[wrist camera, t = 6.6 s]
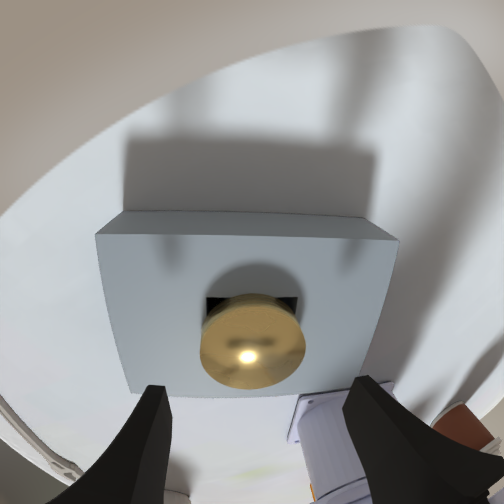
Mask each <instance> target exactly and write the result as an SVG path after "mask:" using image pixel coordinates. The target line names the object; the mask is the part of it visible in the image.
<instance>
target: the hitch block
mask: <svg viewBox="0 0 504 504" xmlns="http://www.w3.org/2000/svg"><path fill="white" fill-rule="evenodd" d="M95 240H96V248H97V255H98V262H99V268H100V274H101V280H102V285H103V290H104V295H105V300H106V305H107V310H108V314H109V319H110V323H111V327H112V331H113V335H114V339H115V343H116V346H117V350H118V354H119V357H120V360H121V364H122V367H123V370H124V374H125V377H126V380H127V383H128V386H129V389H130V392H131V393H136V394H143V393H144V391H145V389H146V387H147V386H148V385H161V386H165V387H166V392H167V396H171V397H190V398H250V397H270V396H284V395H295V394H305V393H314V392H322V391H330V390H337V389H343V388H349V387H351V386H352V384H353V381H354V379H355V377H358V375H359V372H360V370H361V367H362V365H363V362H364V360H365V357H366V354H367V352H368V349H369V346H370V344H371V341H372V338H373V335H374V332H375V329H376V326H377V323H378V320H379V317H380V314H381V311H382V307H383V304H384V301H385V297H386V294H387V290H388V287H389V283H390V279H391V276H392V272H393V268H394V264H395V260H396V256H397V251H398V247H399V242H400V241H399V240H398V239H396V238H395V237H393V236H392V235H390V234H389V233H387V232H386V231H384V230H383V229H381V228H379V227H378V226H376V225H375V224H373V223H371V222H370V221H368V220H367V219H365V218H355V217H340V216H323V215H305V214H283V213H257V212H219V211H123V212H121V213H120V214H119V215H118V216H116V217H115V218H114V219H113V220H111V221H110V222H109V223H108V224H106V225H105V226H104V227H103V228H102V229H100V230H99V231H98V232H97V233H96V234H95ZM249 293H257V294H265V295H270V296H272V297H278V298H277V299H279V300H281V301H283V302H284V303H286V304H287V305H288V306H289V307H290V308H291V309H292V311H293V312H294V314H295V316H296V318H297V320H298V323H299V325H300V328H301V330H302V332H303V335H304V338H305V342H306V352H305V356H304V358H303V361H302V363H301V364H300V366H299V367H298V368H297V370H296V371H295V372H294V373H293V374H291V375H290V376H289V377H288V378H286V379H285V380H283V381H281V382H279V383H277V384H275V385H272V386H269V387H265V388H261V389H251V390H245V389H236V388H232V387H228V386H225V385H223V384H221V383H219V382H217V381H216V380H214V379H213V378H212V377H210V376H209V375H208V374H207V372H206V371H205V370H204V368H203V366H202V364H201V360H200V341H201V329H202V325H203V322H204V320H205V318H206V316H207V315H208V313H209V297H234V296H237V295H241V294H249Z"/></svg>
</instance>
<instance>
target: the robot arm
mask: <svg viewBox="0 0 504 504" xmlns="http://www.w3.org/2000/svg"><path fill="white" fill-rule="evenodd" d="M393 387H394V384H393V382H387V383H383V384H378V383H376V382H375V381H374V380H373V379H372V378H371V377H370V376H369V375H366V376H360V377H355V379H354V381H353V384H352V386H351V388H350V390H346V391H339V392H333V393H326V394H318V395H310V396H303V397H301V398H300V399H299V401H298V404H297V408H296V411H295V415H294V418H293V421H292V425H291V428H290V431H289V435H288V438H287V443H288V444H297V443H301V447H302V451H303V455H304V458H305V462H306V466H307V470H308V474H309V477H310V481H311V485H312V489H313V492H314V496H315V500H316V501H315V502H312V503H310V504H504V487H503V488H502V489H501V490H499V491H498V492H497V493H495V494H494V495H493V496H492V497H490V498H489V499H487V496H488V495H489V491H488V489H489V488H490V487H491V486H492V485H494V484H495V483H496V482H497V481H499V480H500V479H501V478H502V477H503V476H504V459H503V457H502V456H498V455H493V454H489V453H485V452H481V451H478V450H475V449H472V448H470V447H467V446H465V445H462V444H460V443H458V442H456V441H454V440H452V439H450V438H448V437H446V436H444V435H442V434H441V433H439V432H438V431H436V430H434V429H433V428H431V427H430V426H428V425H427V424H425V423H424V422H422V421H421V420H420V419H418V418H417V417H416V416H414V415H413V414H412V413H411V412H409V411H408V410H407V409H406V408H405V407H403V406H402V405H401V404H400V403H399V402H398V401H397V399H396V397H395V396H394V394H393V392H392V389H393ZM171 439H172V413H171V409H170V405H169V401H168V396H167V392H166V387H165V386H161V385H148V386H147V387H146V389H145V391H144V393H143V394H142V396H141V398H140V400H139V402H138V403H137V405H136V407H135V409H134V410H133V412H132V414H131V415H130V417H129V418H128V420H127V421H126V423H125V424H124V426H123V427H122V429H121V430H120V432H119V433H118V435H117V436H116V437H115V439H114V440H113V441H112V443H111V444H110V445H109V447H108V448H107V449H106V450H105V452H104V453H103V454H102V455H101V456H100V458H99V459H98V460H97V461H96V462H95V463H94V464H93V465H92V466H91V467H90V468H89V469H88V470H87V471H86V472H85V473H84V474H83V475H82V476H81V477H80V478H79V479H78V480H77V481H76V482H74V483H73V484H72V485H71V486H70V487H68V488H67V489H66V490H65V491H63V492H62V493H61V494H60V495H58V496H57V497H55V498H54V499H52V500H51V501H49V502H47V503H46V504H164V487H165V480H166V473H167V466H168V459H169V453H170V446H171Z"/></svg>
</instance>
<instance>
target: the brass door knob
mask: <svg viewBox="0 0 504 504" xmlns="http://www.w3.org/2000/svg"><path fill="white" fill-rule="evenodd" d="M305 352H306V342H305V338H304V335H303V332H302V330H301V328H300V325H299V323H298V320H297V318H296V316H295V314H294V312H293V311H292V309H291V308H290V307H289V306H288V305H287V304H286V303H284V302H283V301H281V300H279V299H277V298H275V297H272V296H270V295H265V294H257V293H249V294H241V295H237V296H234V297H221V303H219V304H218V305H216V306H215V307H214V308H213V309H212V310H211V311H210V312H209V313H208V315H207V316H206V318H205V320H204V322H203V325H202V329H201V341H200V360H201V364H202V366H203V368H204V370H205V371H206V372H207V374H208V375H209V376H210V377H212V378H213V379H214V380H216V381H217V382H219V383H221V384H223V385H225V386H228V387H232V388H236V389H245V390H251V389H261V388H265V387H269V386H272V385H275V384H277V383H279V382H281V381H283V380H285V379H286V378H288V377H289V376H290V375H291V374H293V373H294V372H295V371H296V370H297V368H298V367H299V366H300V364H301V363H302V361H303V358H304V356H305Z"/></svg>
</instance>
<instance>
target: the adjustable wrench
mask: <svg viewBox="0 0 504 504" xmlns="http://www.w3.org/2000/svg"><path fill="white" fill-rule="evenodd" d="M0 414H1V415H2V416H3V417H4V418H5V419H6V421H7V422H8V423H9V424H10V425H11V426H12V427H13V428H14V429H15V430H16V431H17V432H18V433H19V434H20V435H21V436H22V437H23V438H24V439H25V440H26V441H27V442H28V443H29V444H30V445H31V446H32V447H33V448H34V449H35V450H36V451H37V452H39V453H40V454H41V455H42V456H43V457H44V458H45V459H46V461H47V462H48V463H49V465H50V466H51V468H52V469H53V470H54V471H55V472H56V473H58V474H59V475H61V476H62V477H64V478H66V479H68V480H71V481H73V482H75V481H76V478H78V479H79V478H80V477H81V476H82V475H83V474H84V472H83V471H82V470H81V469H80V468H78V466H77V465H74V464H72V463H70V462H68V461H66V460H64V459H62V458H61V457H59V456H58V455H56V454H55V453H54V452H53V451H51V450H50V449H49V448H48V447H47V446H46V445H45V444H44V443H43V442H42V441H41V440H40V439H39V438H38V437H37V436H36V435H35V434H34V433H33V432H32V431H31V430H30V429H29V428H28V427H27V426H26V425H25V423H24V422H23V421H22V420H21V419H20V418H19V417H18V416H17V414H16V413H15V412H14V411H13V410H12V409H11V407H10V406H9V405H8V404H7V403H6V401H5V400H4V399H3V398H2V396H1V395H0Z"/></svg>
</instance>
